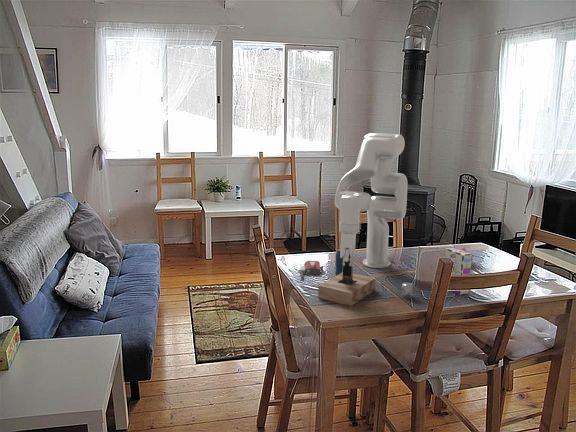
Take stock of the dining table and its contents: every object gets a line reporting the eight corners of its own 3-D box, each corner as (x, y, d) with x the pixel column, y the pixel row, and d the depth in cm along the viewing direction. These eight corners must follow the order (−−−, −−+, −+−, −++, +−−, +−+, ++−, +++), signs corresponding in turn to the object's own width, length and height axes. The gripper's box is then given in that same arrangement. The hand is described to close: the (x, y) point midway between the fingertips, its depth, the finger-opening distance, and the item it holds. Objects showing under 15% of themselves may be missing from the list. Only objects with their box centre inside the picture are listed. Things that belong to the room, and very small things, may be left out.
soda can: (354, 277, 224) (355, 250, 221) (341, 280, 220) (342, 252, 217) (345, 273, 229) (345, 246, 227) (331, 275, 226) (332, 248, 223)
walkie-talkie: (300, 266, 240) (299, 281, 220) (300, 256, 239) (299, 271, 219) (319, 266, 239) (320, 281, 220) (320, 257, 238) (320, 271, 219)
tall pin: (345, 279, 206) (346, 252, 204) (354, 281, 204) (355, 253, 202) (340, 281, 203) (341, 254, 201) (349, 284, 201) (350, 256, 199)
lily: (468, 261, 250) (459, 243, 251) (485, 258, 240) (475, 239, 240) (450, 272, 246) (440, 254, 246) (465, 270, 235) (456, 250, 236)
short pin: (404, 294, 205) (404, 281, 204) (413, 296, 203) (414, 284, 202) (399, 297, 202) (400, 284, 201) (409, 299, 200) (410, 287, 199)
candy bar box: (470, 294, 206) (473, 253, 202) (459, 295, 204) (463, 255, 200) (451, 284, 216) (454, 246, 212) (441, 286, 214) (444, 247, 211)
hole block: (343, 283, 217) (344, 271, 216) (374, 290, 209) (375, 278, 208) (318, 297, 201) (318, 285, 200) (350, 306, 193) (351, 293, 192)
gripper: (341, 222, 208) (340, 266, 212) (336, 232, 192) (335, 280, 196) (360, 223, 206) (359, 267, 210) (357, 233, 190) (355, 281, 194)
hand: (347, 273), depth 203 cm, fingers closed on tall pin, 4 cm apart
